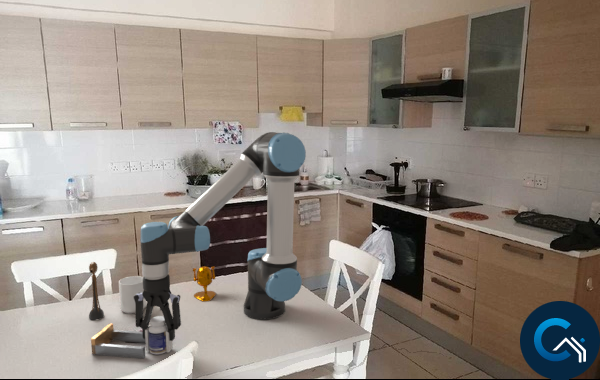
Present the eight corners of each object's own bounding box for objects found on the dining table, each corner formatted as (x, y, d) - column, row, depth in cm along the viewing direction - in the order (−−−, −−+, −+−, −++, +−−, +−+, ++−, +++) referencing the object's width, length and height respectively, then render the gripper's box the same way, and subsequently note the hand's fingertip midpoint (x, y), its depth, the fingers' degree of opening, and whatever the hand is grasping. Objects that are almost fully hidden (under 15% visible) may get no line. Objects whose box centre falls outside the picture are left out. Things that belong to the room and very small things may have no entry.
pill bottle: (169, 353, 130) (168, 322, 128) (149, 356, 128) (147, 324, 127) (169, 344, 135) (168, 313, 134) (149, 346, 134) (148, 316, 132)
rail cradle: (158, 341, 137) (157, 326, 136) (143, 358, 127) (142, 342, 127) (110, 338, 139) (109, 323, 138) (92, 354, 129) (90, 338, 129)
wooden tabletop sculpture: (101, 320, 151) (98, 264, 148) (87, 322, 150) (83, 265, 147) (104, 313, 157) (101, 259, 154) (90, 314, 156) (87, 260, 153)
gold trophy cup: (214, 290, 179) (213, 261, 178) (217, 300, 169) (216, 270, 167) (193, 292, 177) (192, 263, 175) (194, 302, 167) (193, 272, 165)
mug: (142, 314, 156) (140, 284, 155) (116, 314, 156) (115, 284, 154) (151, 300, 168) (149, 272, 167) (127, 301, 168) (126, 273, 166)
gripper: (191, 272, 131) (193, 345, 134) (132, 269, 133) (136, 341, 137) (181, 281, 123) (184, 358, 127) (119, 278, 126) (123, 353, 129)
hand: (159, 349), depth 132 cm, fingers closed on pill bottle, 6 cm apart
